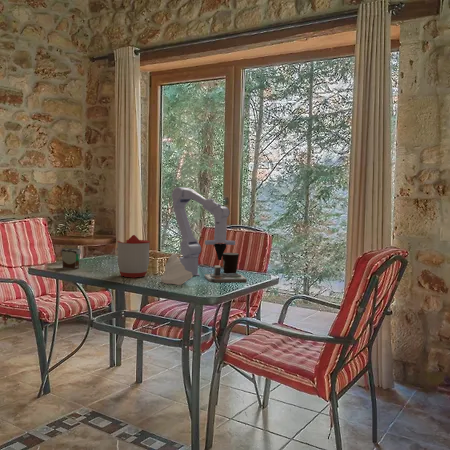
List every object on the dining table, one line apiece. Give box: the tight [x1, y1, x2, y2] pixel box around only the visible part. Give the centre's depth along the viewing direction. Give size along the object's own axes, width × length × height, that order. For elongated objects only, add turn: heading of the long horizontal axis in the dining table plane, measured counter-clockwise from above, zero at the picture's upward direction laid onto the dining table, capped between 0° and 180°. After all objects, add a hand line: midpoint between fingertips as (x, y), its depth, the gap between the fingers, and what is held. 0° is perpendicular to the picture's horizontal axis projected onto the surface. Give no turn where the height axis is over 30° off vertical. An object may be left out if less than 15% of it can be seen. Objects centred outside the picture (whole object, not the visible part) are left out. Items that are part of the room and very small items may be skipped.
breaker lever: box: [212, 265, 222, 275], centre depth 242 cm, size 4×3×5 cm
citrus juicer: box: [116, 234, 151, 279], centre depth 244 cm, size 16×17×20 cm
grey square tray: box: [204, 273, 247, 283], centre depth 243 cm, size 16×17×1 cm
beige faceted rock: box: [160, 252, 193, 286], centre depth 230 cm, size 12×15×14 cm
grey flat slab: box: [204, 272, 247, 282], centre depth 243 cm, size 18×12×2 cm, turn 102°
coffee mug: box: [222, 252, 240, 273], centre depth 263 cm, size 12×9×10 cm
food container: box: [60, 247, 82, 270], centre depth 263 cm, size 12×6×10 cm, turn 58°
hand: (219, 259), depth 242 cm, fingers closed
